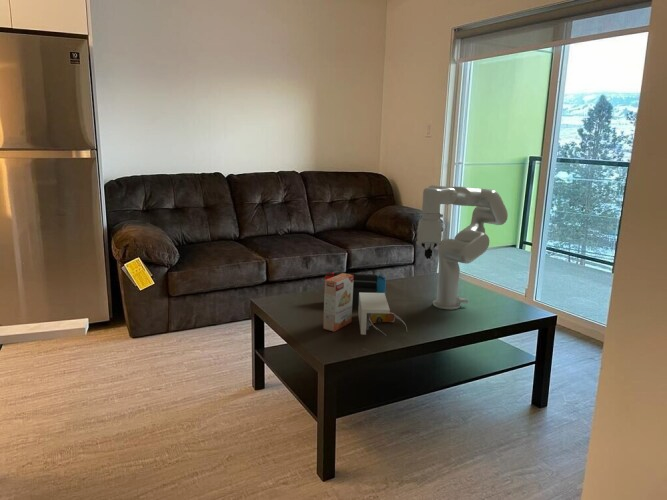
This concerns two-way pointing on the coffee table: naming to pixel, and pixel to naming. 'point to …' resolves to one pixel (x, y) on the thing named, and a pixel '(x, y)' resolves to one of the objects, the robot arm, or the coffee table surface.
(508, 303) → the coffee table surface
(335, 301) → the cracker box
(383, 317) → the sunglasses
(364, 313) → the overhang dock
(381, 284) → the game console
